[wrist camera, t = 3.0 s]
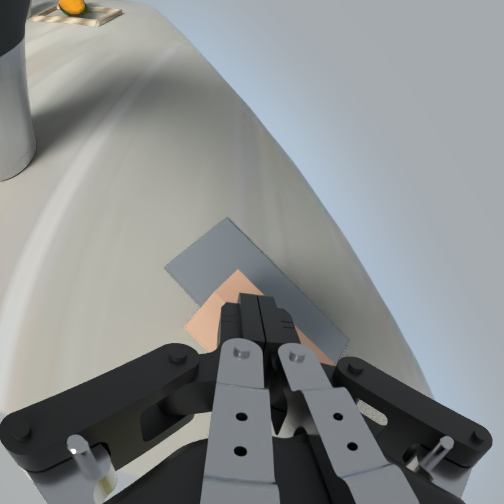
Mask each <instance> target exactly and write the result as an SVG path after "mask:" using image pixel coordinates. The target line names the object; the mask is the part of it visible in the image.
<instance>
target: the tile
mask: <svg viewBox="0 0 504 504" xmlns="http://www.w3.org/2000/svg"><path fill="white" fill-rule="evenodd" d="M239 292H240V293H248V294H256V295H264V294H263V293H262V292H261V291H260V290H259V289H258V288H256V287H255V286H254V285H253V284H252V283H251V282H250V281H249V280H248V279H247V278H246V277H245V276H244V275H243V274H242V273H241V272H240V271H239V270H236V271H235V272H234V273H233V274H232V275H231V276H230V277H229V278H228V279H227V280H226V281H225V282H224V283H223V284H222V285H221V286H220V287H219V288H218V289H217V290H216V291H214V293H213V294H212V295H211V296H210V297H209V298H208V300H207V301H206V302H205V303H204V304H203V305H202V307H201V308H200V309H199V310H198V311H197V313H196V314H195V315H194V316H193V317H192V318H191V320H190V321H189V322H188V323H187V324H186V325H185V327H184V329H185V330H186V331H187V332H188V333H189V334H190V335H191V336H192V337H193V338H194V339H195V340H196V341H197V342H199V343H200V344H201V345H202V346H203V347H204V348H205V349H206V350H207V351H208V352H209V353H210V352H212V351H214V350H216V349H217V334H218V327H219V320H220V313H221V307H222V306H223V305H224V304H225V303H226V302H231V303H237V300H238V295H239ZM264 296H265V295H264ZM295 329H296V331H297V334H298V336H299V339H300V342H301V345H304V346H306V347H308V348H310V349H311V350H312V351H313V352H314V353H315V355H316V356H317V358H318V360H319V362H320V363H324V364H328V365H332V366H334V364H335V363H334V362H332V361H331V360H330V359H329V358H328V357H327V356H326V355H325V354H324V353H323V352H322V351H321V350H320V349H319V348H318V347H317V346H316V345H315V344H314V343H313V342H312V341H311V340H310V339H309V338H307V337H306V336H305V335H304V334H303V333H302V332H301V331H300V330H299V329H298V328H297V327H296V326H295Z"/></svg>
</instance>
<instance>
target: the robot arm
mask: <svg viewBox="0 0 504 504" xmlns="http://www.w3.org/2000/svg"><path fill="white" fill-rule="evenodd" d="M30 1H31V0H0V181H2V180H6V179H9V178H11V177H13V176H15V175H16V174H18V173H19V172H21V171H22V170H23V169H24V168H25V167H26V166H27V165H28V164H29V163H30V161H31V160H32V158H33V157H34V154H35V152H36V140H35V135H34V129H33V123H32V117H31V110H30V103H29V95H28V86H27V75H26V60H25V23H26V18H27V15H28V11H29V7H30ZM359 400H362V401H364V402H365V403H367V404H368V405H370V406H372V407H373V408H375V409H377V410H378V411H380V412H381V413H383V414H384V415H385V416H386V417H387V419H388V423H387V425H380V424H378V423H376V422H375V421H373V420H371V419H370V418H368V417H367V416H365V415H363V414H362V413H360V412H359V410H358V408H357V406H356V405H357V403H358V401H359ZM211 411H212V415H211V422H210V430H209V437H208V438H207V439H203V440H198V441H195V442H192V443H189V444H187V445H185V446H183V447H181V448H179V449H178V450H176V451H175V452H173V453H172V454H171V455H170V456H168V457H167V458H166V459H164V460H163V461H162V462H161V463H159V464H158V465H157V466H155V467H154V468H153V469H151V470H150V471H149V472H147V473H146V474H145V475H143V476H142V477H141V478H139V479H138V480H136V481H135V482H134V483H132V484H131V485H130V486H128V487H127V488H125V489H124V490H122V491H121V492H120V493H118V494H116V495H115V496H113V497H112V498H110V499H109V500H107V501H106V502H104V500H105V498H106V497H107V496H108V495H109V494H110V493H111V492H112V491H113V490H114V489H115V487H116V485H117V475H116V472H115V471H117V470H118V469H120V468H122V467H123V466H125V465H126V464H128V463H130V462H131V461H133V460H134V459H136V458H138V457H139V456H141V455H142V454H144V453H145V452H147V451H148V450H150V449H151V448H153V447H154V446H156V445H157V444H159V443H160V442H162V441H163V440H165V439H166V438H167V437H169V436H170V435H172V434H173V433H175V432H176V431H177V430H179V429H180V428H182V427H183V426H184V425H186V424H187V423H189V422H190V421H191V420H192V419H193V417H194V414H197V413H204V412H211ZM0 440H1V442H2V444H3V445H4V447H5V448H6V450H7V451H8V452H9V454H10V455H11V456H12V458H13V459H14V460H15V461H16V463H17V464H18V465H19V467H20V468H21V469H22V470H23V471H24V473H25V474H26V475H27V476H28V478H29V479H30V480H31V481H32V482H33V483H34V484H35V486H36V487H37V489H38V490H39V492H40V493H41V495H42V496H43V498H44V499H45V500H46V502H47V503H48V504H465V503H464V501H462V500H461V496H462V494H463V491H464V489H465V486H466V484H467V481H468V478H469V475H470V472H471V469H472V468H473V467H474V466H475V464H477V462H478V461H479V460H480V459H481V458H482V456H483V455H484V454H485V453H486V452H487V451H488V450H489V449H490V448H491V446H492V437H491V434H490V433H489V431H488V430H487V429H486V428H484V427H483V426H481V425H479V424H477V423H475V422H474V421H472V420H470V419H468V418H466V417H464V416H462V415H460V414H458V413H456V412H455V411H453V410H451V409H449V408H447V407H445V406H443V405H441V404H440V403H438V402H436V401H434V400H432V399H431V398H429V397H427V396H425V395H423V394H422V393H420V392H418V391H416V390H414V389H413V388H411V387H409V386H407V385H405V384H404V383H402V382H400V381H398V380H397V379H395V378H393V377H391V376H390V375H388V374H386V373H384V372H383V371H381V370H379V369H377V368H376V367H374V366H372V365H371V364H369V363H367V362H365V361H364V360H362V359H359V358H356V357H343V358H341V359H340V360H339V361H338V363H337V365H336V366H332V365H328V364H324V363H320V362H319V360H318V358H317V356H316V355H315V353H314V352H313V351H312V350H311V349H310V348H308V347H306V346H304V345H301V342H300V339H299V336H298V334H297V331H296V329H295V325H294V323H293V320H292V317H291V315H290V314H289V313H288V312H287V311H286V310H285V309H283V308H277V306H276V303H275V299H274V297H272V296H264V295H256V294H248V293H240V292H239V295H238V300H237V303H231V302H226V303H225V304H224V305H223V306H222V307H221V313H220V320H219V327H218V334H217V349H216V350H214V351H212V352H210V353H206V354H198V353H197V351H196V350H195V349H193V348H192V347H190V346H188V345H185V344H180V343H171V344H166V345H163V346H161V347H159V348H157V349H155V350H153V351H151V352H149V353H147V354H145V355H143V356H141V357H139V358H136V359H134V360H132V361H130V362H128V363H126V364H124V365H122V366H119V367H117V368H115V369H113V370H111V371H109V372H107V373H104V374H102V375H100V376H98V377H96V378H93V379H91V380H89V381H87V382H84V383H82V384H80V385H78V386H75V387H73V388H71V389H68V390H66V391H64V392H62V393H59V394H57V395H55V396H52V397H50V398H47V399H45V400H43V401H40V402H38V403H35V404H33V405H30V406H28V407H26V408H23V409H21V410H18V411H16V412H13V413H11V414H9V415H7V416H6V417H5V418H4V419H3V421H2V422H1V424H0Z"/></svg>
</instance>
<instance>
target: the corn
mask: <svg viewBox="0 0 504 504" xmlns="http://www.w3.org/2000/svg"><path fill="white" fill-rule="evenodd" d="M59 8H60V9H61V10H62V11H63V12H64V13H65V14H66V15H69V14H68V13H70V14H79V13H80V14H86V13H87V12H88V7H87V5H86V4H85V3H84V0H59Z"/></svg>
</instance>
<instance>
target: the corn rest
mask: <svg viewBox="0 0 504 504" xmlns="http://www.w3.org/2000/svg"><path fill="white" fill-rule="evenodd" d="M87 7H88V11H89V12H99V13H107V14H109V15H107V16H105V17H103V18H101V19H99V20H94V19H85V18H74V17H59V16H45V15H46V14H48V13H50V12H52V11H54V10H56V9H60V8H59V4H56V5H54V6H52V7H50V8H48V9H46V10H44V11H42V12H40V13H38V14H36V15H35V16H33V17H32V21H37V22H59V23H71V24H81V25H90V26H97V27H99V26H100V25H102V24H104V23H106V22H108V21H109V20H111V19H113V18H115V17H117V16H119V15H121V13H122V10H119V9H112V8H104V7H94V6H87ZM60 10H61V9H60Z"/></svg>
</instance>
